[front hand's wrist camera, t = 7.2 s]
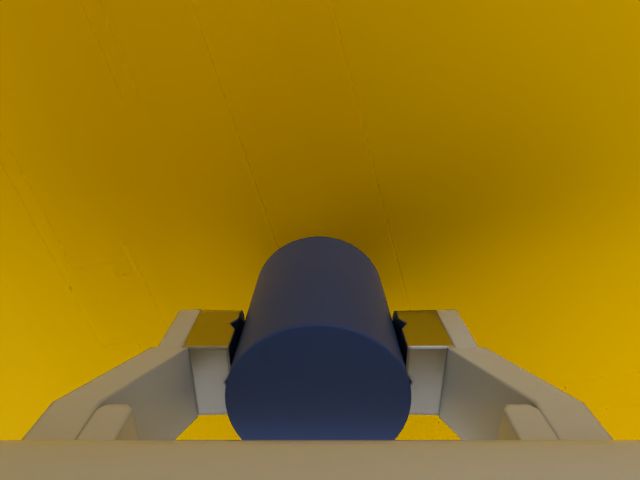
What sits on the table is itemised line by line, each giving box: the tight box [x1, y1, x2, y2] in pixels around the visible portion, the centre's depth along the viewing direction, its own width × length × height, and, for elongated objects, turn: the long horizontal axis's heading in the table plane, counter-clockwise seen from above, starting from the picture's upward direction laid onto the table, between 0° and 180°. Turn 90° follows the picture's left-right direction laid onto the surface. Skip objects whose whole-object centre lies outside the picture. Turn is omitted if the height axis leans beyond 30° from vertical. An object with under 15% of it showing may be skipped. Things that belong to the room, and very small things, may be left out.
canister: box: [225, 237, 412, 440], centre depth 10 cm, size 4×4×4 cm
